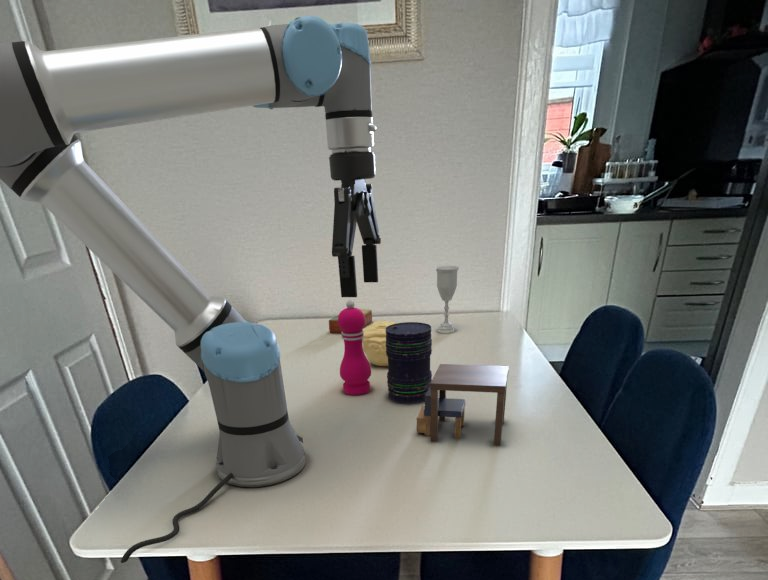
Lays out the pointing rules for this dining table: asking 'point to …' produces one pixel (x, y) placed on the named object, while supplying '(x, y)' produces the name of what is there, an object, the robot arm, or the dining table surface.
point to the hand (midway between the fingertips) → (360, 289)
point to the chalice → (446, 291)
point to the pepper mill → (353, 351)
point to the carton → (336, 329)
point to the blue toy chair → (441, 413)
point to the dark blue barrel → (408, 361)
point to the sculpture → (376, 343)
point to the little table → (469, 389)
